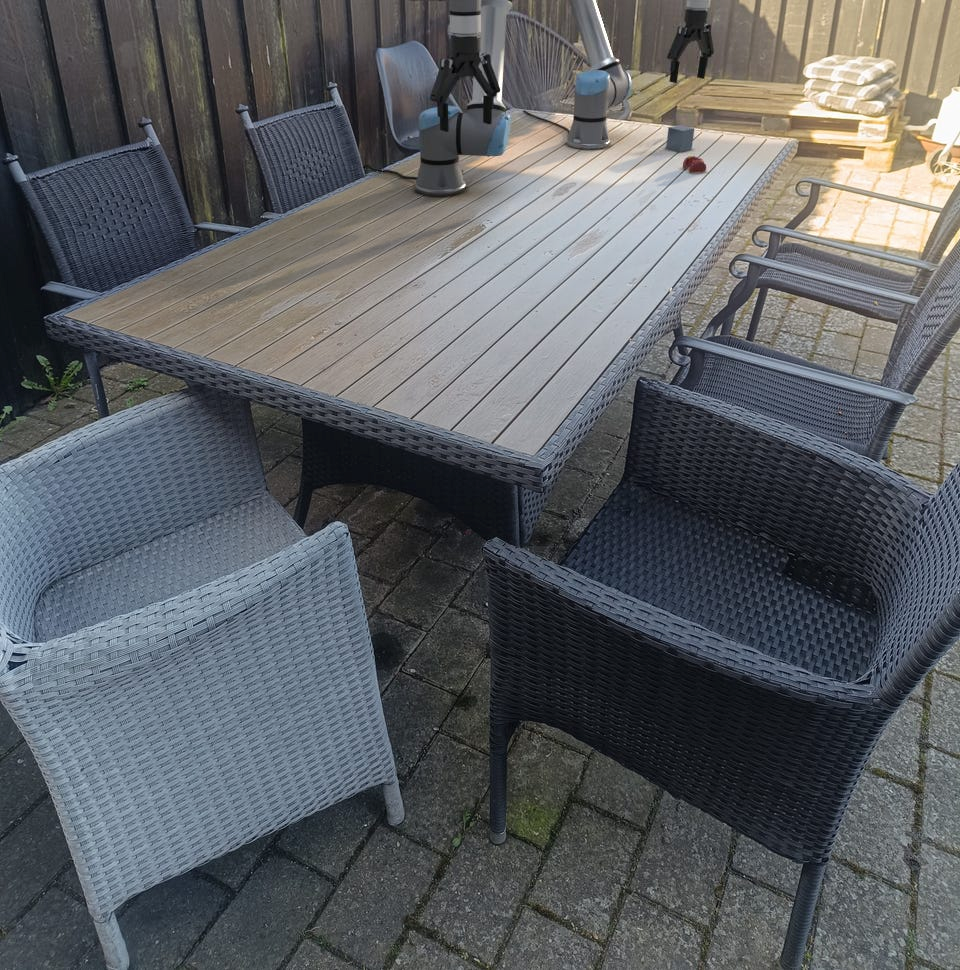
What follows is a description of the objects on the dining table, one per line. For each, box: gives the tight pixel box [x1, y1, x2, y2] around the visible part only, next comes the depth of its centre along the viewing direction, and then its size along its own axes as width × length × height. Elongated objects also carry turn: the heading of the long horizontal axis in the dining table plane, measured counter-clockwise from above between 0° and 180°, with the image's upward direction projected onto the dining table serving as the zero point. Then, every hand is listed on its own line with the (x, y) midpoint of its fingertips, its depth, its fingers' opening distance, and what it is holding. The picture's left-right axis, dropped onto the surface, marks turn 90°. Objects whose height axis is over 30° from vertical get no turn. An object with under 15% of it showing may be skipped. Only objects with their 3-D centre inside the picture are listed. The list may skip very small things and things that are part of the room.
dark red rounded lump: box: [682, 155, 707, 173], centre depth 275 cm, size 6×4×8 cm
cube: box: [665, 124, 695, 153], centre depth 296 cm, size 7×6×7 cm
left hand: (466, 127), depth 217 cm, fingers open, 13 cm apart
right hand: (687, 80), depth 285 cm, fingers open, 13 cm apart
